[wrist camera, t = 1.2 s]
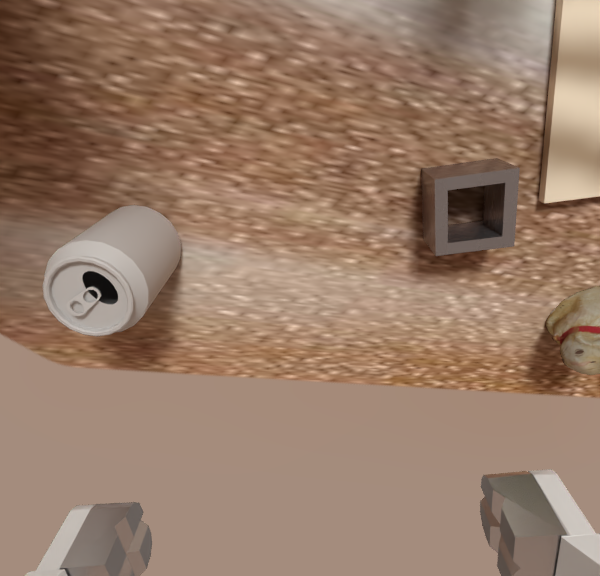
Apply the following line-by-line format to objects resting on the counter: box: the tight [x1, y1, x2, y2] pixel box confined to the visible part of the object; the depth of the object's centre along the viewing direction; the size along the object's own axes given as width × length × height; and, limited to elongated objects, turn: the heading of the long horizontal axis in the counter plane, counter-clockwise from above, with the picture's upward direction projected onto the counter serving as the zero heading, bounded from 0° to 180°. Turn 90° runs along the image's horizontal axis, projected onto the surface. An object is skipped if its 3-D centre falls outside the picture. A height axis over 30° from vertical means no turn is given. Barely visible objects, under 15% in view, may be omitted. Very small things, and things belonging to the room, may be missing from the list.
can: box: [43, 205, 181, 336], centre depth 36 cm, size 8×8×12 cm
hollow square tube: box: [421, 158, 519, 256], centre depth 38 cm, size 6×6×4 cm
